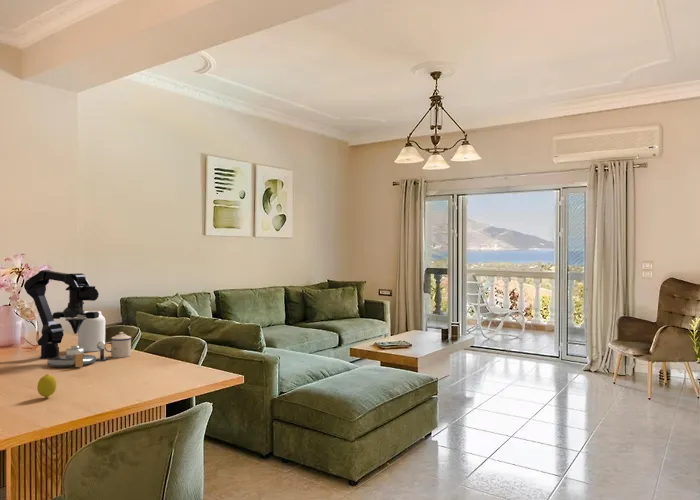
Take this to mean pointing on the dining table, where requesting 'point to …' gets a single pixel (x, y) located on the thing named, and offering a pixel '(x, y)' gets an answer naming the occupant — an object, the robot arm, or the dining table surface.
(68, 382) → the dining table surface
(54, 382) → the lemon
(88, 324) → the white jar
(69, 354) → the cover
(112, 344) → the teacup with lid
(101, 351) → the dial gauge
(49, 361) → the platter
